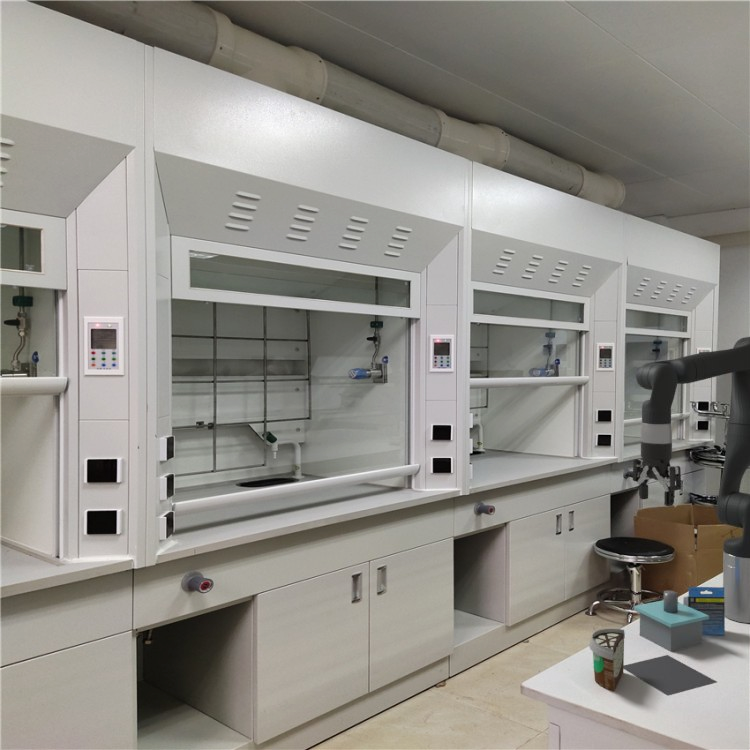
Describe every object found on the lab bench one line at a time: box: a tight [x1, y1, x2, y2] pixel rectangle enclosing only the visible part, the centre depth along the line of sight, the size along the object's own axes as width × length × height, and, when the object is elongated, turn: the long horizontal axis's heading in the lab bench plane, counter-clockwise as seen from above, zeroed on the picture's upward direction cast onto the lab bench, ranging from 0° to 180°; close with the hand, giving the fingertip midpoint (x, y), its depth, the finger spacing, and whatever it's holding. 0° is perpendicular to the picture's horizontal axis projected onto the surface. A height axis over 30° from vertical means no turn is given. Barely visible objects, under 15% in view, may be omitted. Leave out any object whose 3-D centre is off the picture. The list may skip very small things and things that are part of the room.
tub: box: [639, 612, 703, 653], centre depth 169 cm, size 10×10×7 cm
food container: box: [588, 628, 626, 692], centre depth 150 cm, size 12×6×10 cm, turn 149°
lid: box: [633, 590, 709, 627], centre depth 169 cm, size 12×12×5 cm
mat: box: [623, 654, 718, 696], centre depth 152 cm, size 14×14×1 cm
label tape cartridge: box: [682, 586, 726, 636], centre depth 175 cm, size 9×4×12 cm, turn 84°
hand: (656, 502), depth 179 cm, fingers open, 8 cm apart
